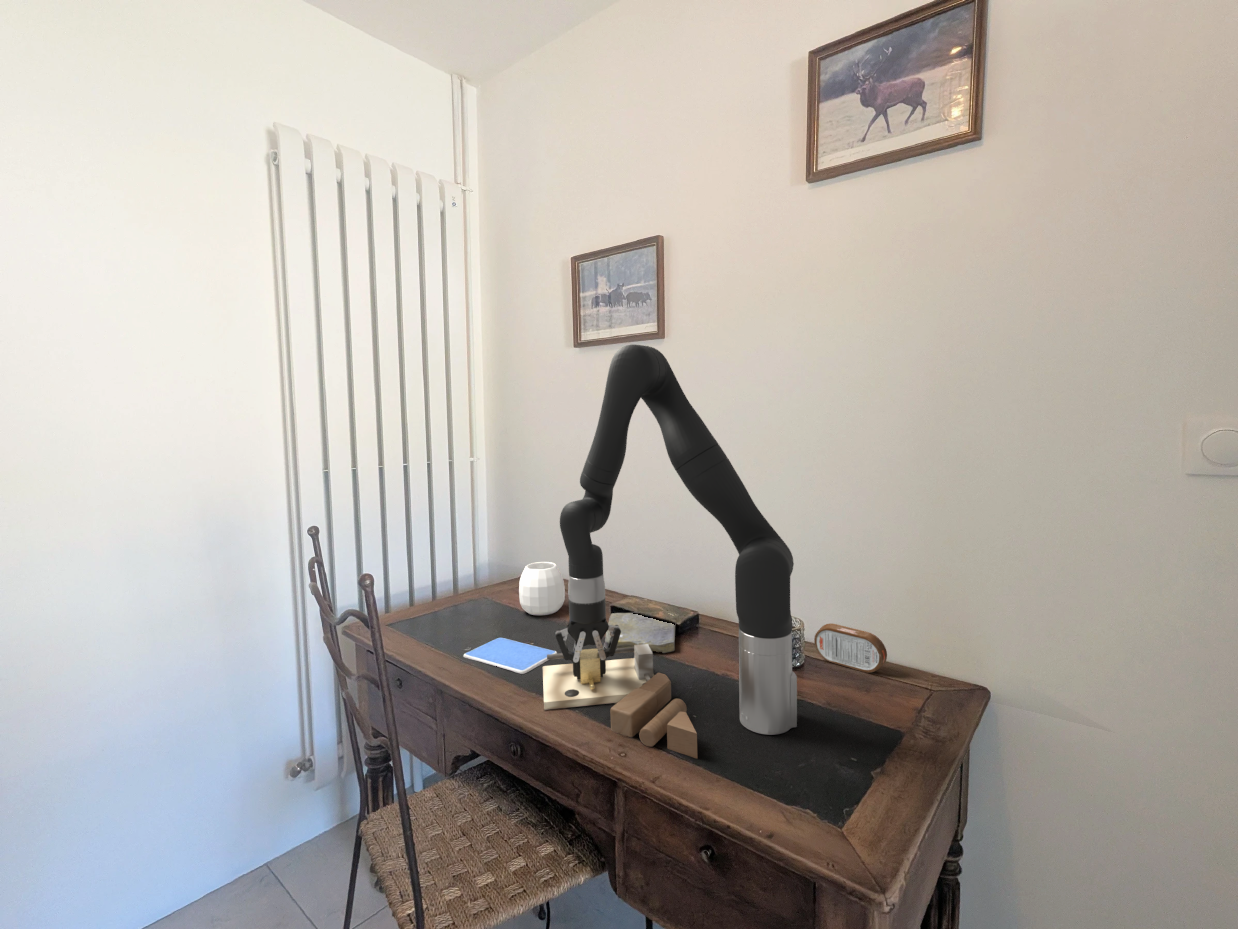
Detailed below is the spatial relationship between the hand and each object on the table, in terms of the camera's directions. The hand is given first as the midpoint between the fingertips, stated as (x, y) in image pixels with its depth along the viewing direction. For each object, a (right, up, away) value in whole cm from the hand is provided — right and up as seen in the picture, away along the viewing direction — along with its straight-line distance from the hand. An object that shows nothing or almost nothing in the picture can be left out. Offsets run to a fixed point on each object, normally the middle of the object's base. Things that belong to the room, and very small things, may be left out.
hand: (589, 676), depth 118 cm
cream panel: (+2, -2, 0) cm, 3 cm away
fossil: (+11, 0, +25) cm, 28 cm away
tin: (+56, 0, +6) cm, 56 cm away
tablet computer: (-20, -2, +17) cm, 26 cm away
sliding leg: (0, 0, -2) cm, 2 cm away
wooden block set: (+16, -4, -14) cm, 22 cm away
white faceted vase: (-16, +1, +46) cm, 49 cm away
